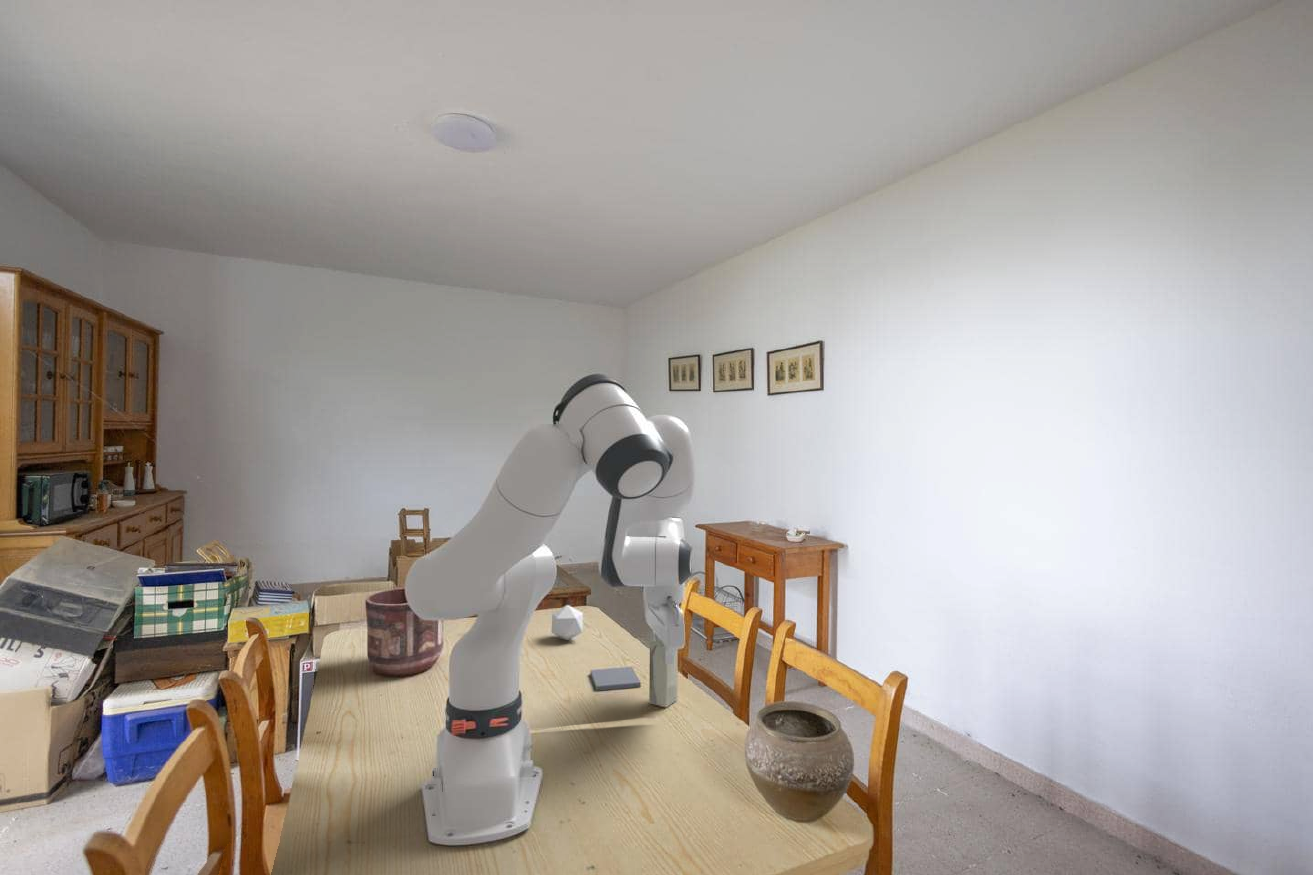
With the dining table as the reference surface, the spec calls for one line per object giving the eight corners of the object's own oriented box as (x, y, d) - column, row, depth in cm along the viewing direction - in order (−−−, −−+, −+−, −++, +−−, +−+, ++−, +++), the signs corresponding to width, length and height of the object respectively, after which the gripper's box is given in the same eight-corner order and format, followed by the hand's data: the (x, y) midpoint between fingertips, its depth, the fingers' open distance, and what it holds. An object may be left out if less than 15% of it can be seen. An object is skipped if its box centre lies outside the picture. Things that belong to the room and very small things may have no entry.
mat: (640, 686, 137) (640, 682, 137) (596, 690, 135) (596, 686, 135) (631, 670, 147) (631, 666, 147) (590, 674, 144) (590, 669, 144)
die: (571, 633, 175) (572, 599, 175) (588, 641, 168) (589, 605, 168) (545, 639, 170) (546, 603, 170) (562, 648, 163) (562, 610, 163)
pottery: (420, 686, 136) (420, 606, 137) (348, 681, 139) (349, 602, 139) (457, 659, 154) (458, 587, 154) (394, 654, 157) (394, 584, 157)
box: (660, 695, 132) (661, 636, 133) (678, 699, 130) (678, 639, 130) (648, 704, 128) (648, 642, 128) (666, 708, 126) (666, 646, 126)
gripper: (693, 603, 120) (692, 673, 120) (666, 580, 140) (666, 640, 140) (662, 604, 118) (661, 676, 118) (639, 581, 138) (639, 642, 138)
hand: (663, 656), depth 129 cm, fingers closed on box, 6 cm apart
